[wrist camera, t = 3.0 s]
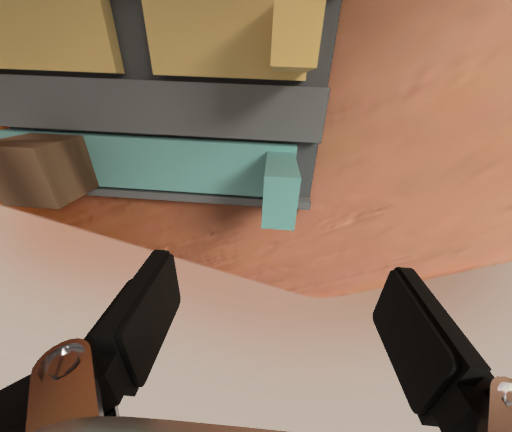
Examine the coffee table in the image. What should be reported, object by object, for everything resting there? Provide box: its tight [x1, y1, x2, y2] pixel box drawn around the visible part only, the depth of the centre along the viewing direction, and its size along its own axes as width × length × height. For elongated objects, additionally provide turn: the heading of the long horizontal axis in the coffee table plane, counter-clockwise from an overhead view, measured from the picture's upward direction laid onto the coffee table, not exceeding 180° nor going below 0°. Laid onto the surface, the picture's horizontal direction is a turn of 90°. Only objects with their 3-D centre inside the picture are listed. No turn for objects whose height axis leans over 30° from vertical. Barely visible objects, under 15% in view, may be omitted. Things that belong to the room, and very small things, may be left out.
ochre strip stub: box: [141, 0, 326, 81], centre depth 15 cm, size 12×5×8 cm, turn 88°
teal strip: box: [0, 129, 301, 231], centre depth 20 cm, size 28×5×8 cm, turn 88°
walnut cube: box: [0, 133, 99, 209], centre depth 20 cm, size 5×5×5 cm
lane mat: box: [0, 0, 342, 210], centre depth 20 cm, size 30×17×2 cm, turn 88°
